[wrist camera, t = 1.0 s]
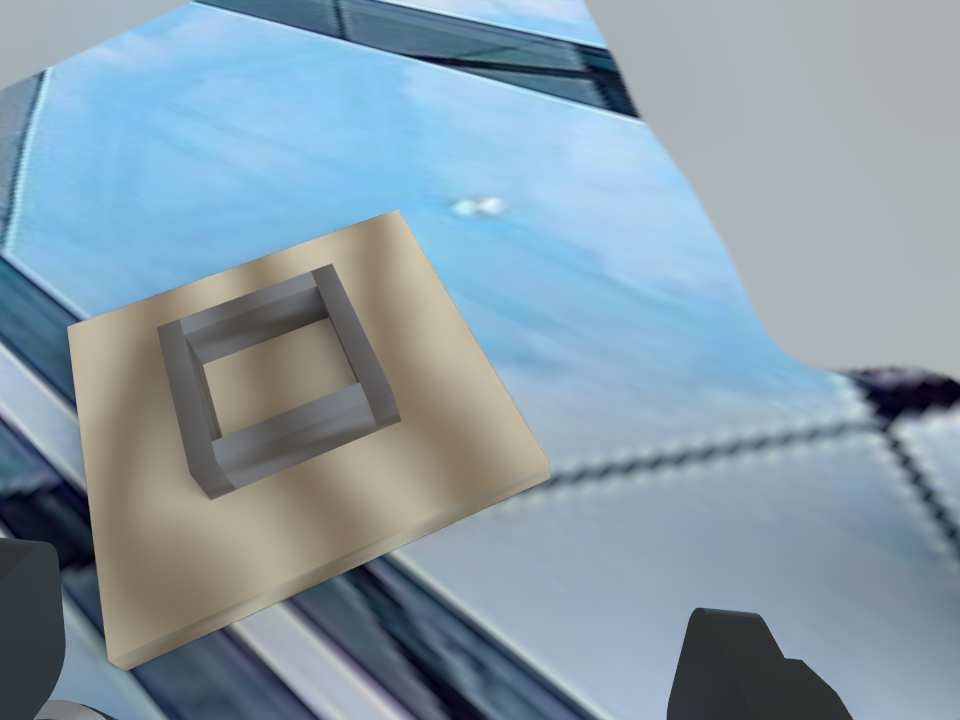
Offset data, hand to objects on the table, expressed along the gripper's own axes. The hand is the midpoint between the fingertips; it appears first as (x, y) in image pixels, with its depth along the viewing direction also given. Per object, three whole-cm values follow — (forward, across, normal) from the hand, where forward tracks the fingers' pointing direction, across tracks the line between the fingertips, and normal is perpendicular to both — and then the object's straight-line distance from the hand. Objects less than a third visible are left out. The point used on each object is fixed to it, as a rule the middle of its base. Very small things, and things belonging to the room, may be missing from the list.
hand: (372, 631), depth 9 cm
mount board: (+28, +8, +10) cm, 30 cm away
